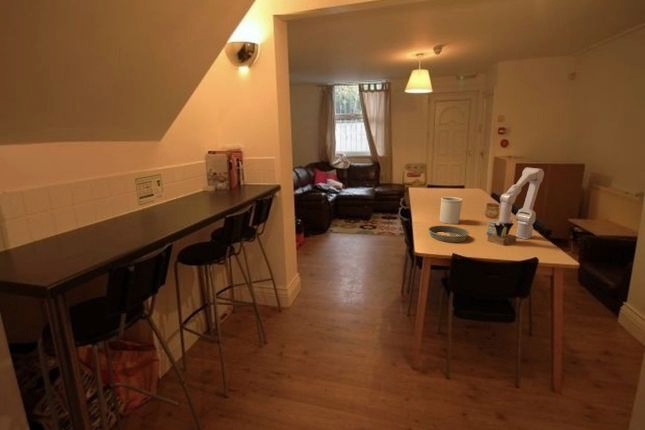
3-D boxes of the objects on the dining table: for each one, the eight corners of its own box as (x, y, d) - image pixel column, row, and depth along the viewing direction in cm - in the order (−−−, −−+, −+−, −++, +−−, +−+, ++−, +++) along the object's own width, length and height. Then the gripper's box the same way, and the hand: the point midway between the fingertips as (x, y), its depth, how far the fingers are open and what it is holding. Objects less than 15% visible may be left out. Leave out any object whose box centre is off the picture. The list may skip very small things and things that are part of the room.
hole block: (500, 237, 223) (501, 232, 222) (515, 241, 215) (516, 236, 214) (487, 240, 215) (488, 235, 215) (502, 245, 207) (503, 239, 206)
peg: (500, 240, 217) (502, 226, 215) (505, 241, 215) (507, 227, 212) (498, 241, 215) (500, 227, 213) (503, 242, 213) (505, 228, 211)
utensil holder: (456, 219, 266) (459, 196, 261) (462, 224, 251) (465, 200, 247) (437, 218, 267) (439, 196, 263) (441, 224, 253) (443, 200, 248)
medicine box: (486, 234, 229) (488, 221, 227) (488, 233, 232) (490, 220, 230) (499, 237, 223) (500, 224, 221) (501, 235, 226) (503, 222, 224)
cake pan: (449, 230, 238) (450, 223, 237) (477, 240, 216) (477, 233, 215) (419, 233, 230) (420, 227, 228) (444, 245, 207) (445, 237, 206)
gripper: (505, 216, 204) (501, 238, 207) (518, 213, 211) (515, 234, 215) (493, 213, 209) (490, 235, 213) (507, 211, 217) (504, 232, 220)
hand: (502, 235), depth 214 cm, fingers open, 7 cm apart
